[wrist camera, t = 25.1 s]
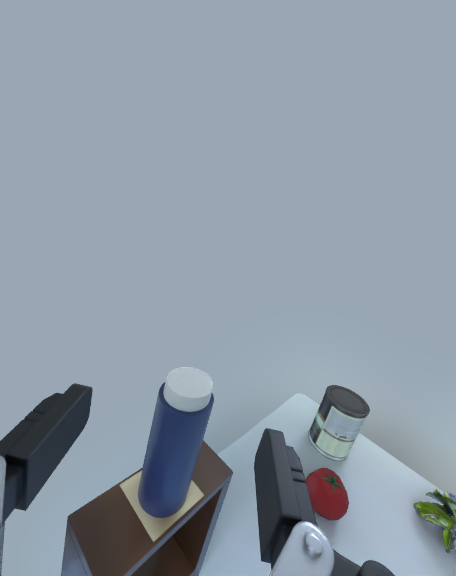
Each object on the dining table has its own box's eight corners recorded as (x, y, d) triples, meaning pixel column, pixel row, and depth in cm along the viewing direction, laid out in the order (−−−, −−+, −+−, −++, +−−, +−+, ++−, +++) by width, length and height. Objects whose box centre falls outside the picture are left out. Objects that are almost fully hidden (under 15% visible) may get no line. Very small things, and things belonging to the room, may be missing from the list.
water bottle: (192, 510, 27) (225, 399, 23) (139, 524, 24) (166, 403, 21) (181, 463, 31) (208, 363, 27) (136, 471, 29) (158, 364, 25)
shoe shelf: (77, 724, 25) (101, 595, 20) (53, 640, 29) (67, 514, 24) (198, 575, 37) (233, 471, 32) (169, 531, 41) (196, 432, 36)
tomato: (322, 481, 57) (334, 456, 55) (349, 523, 50) (364, 496, 48) (292, 488, 53) (303, 461, 51) (317, 533, 46) (331, 505, 44)
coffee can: (300, 430, 70) (317, 386, 66) (326, 424, 75) (344, 383, 71) (329, 466, 61) (351, 417, 57) (356, 456, 66) (378, 411, 62)
